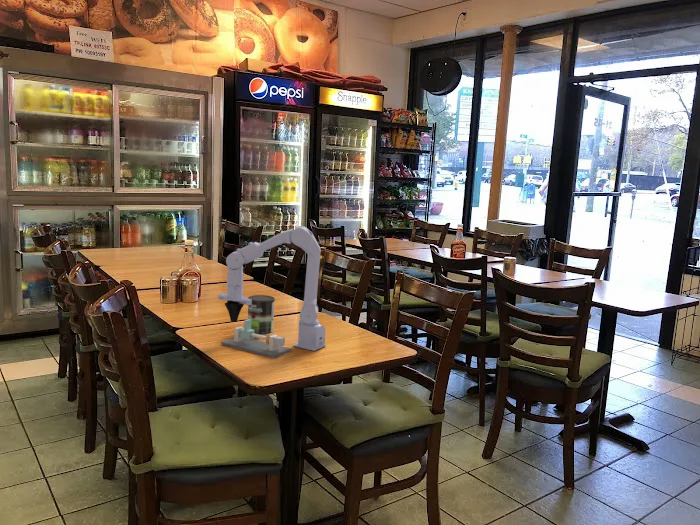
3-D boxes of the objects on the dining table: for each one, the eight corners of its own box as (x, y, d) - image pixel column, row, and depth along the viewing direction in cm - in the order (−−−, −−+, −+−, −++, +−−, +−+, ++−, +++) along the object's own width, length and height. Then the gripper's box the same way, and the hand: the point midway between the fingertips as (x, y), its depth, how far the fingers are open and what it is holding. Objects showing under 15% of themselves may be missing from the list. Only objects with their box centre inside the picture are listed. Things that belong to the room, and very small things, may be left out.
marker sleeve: (254, 337, 202) (254, 320, 201) (248, 339, 199) (249, 321, 198) (245, 335, 204) (246, 318, 203) (240, 337, 201) (240, 319, 200)
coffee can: (263, 338, 212) (264, 302, 210) (241, 333, 217) (242, 298, 215) (278, 332, 221) (280, 297, 219) (257, 327, 226) (258, 293, 224)
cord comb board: (291, 351, 198) (291, 333, 197) (273, 358, 190) (274, 339, 189) (239, 338, 210) (240, 321, 209) (220, 344, 202) (221, 327, 201)
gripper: (212, 283, 202) (211, 319, 204) (242, 289, 195) (241, 327, 197) (225, 281, 208) (225, 316, 210) (255, 286, 201) (254, 323, 203)
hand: (234, 321), depth 204 cm, fingers closed
